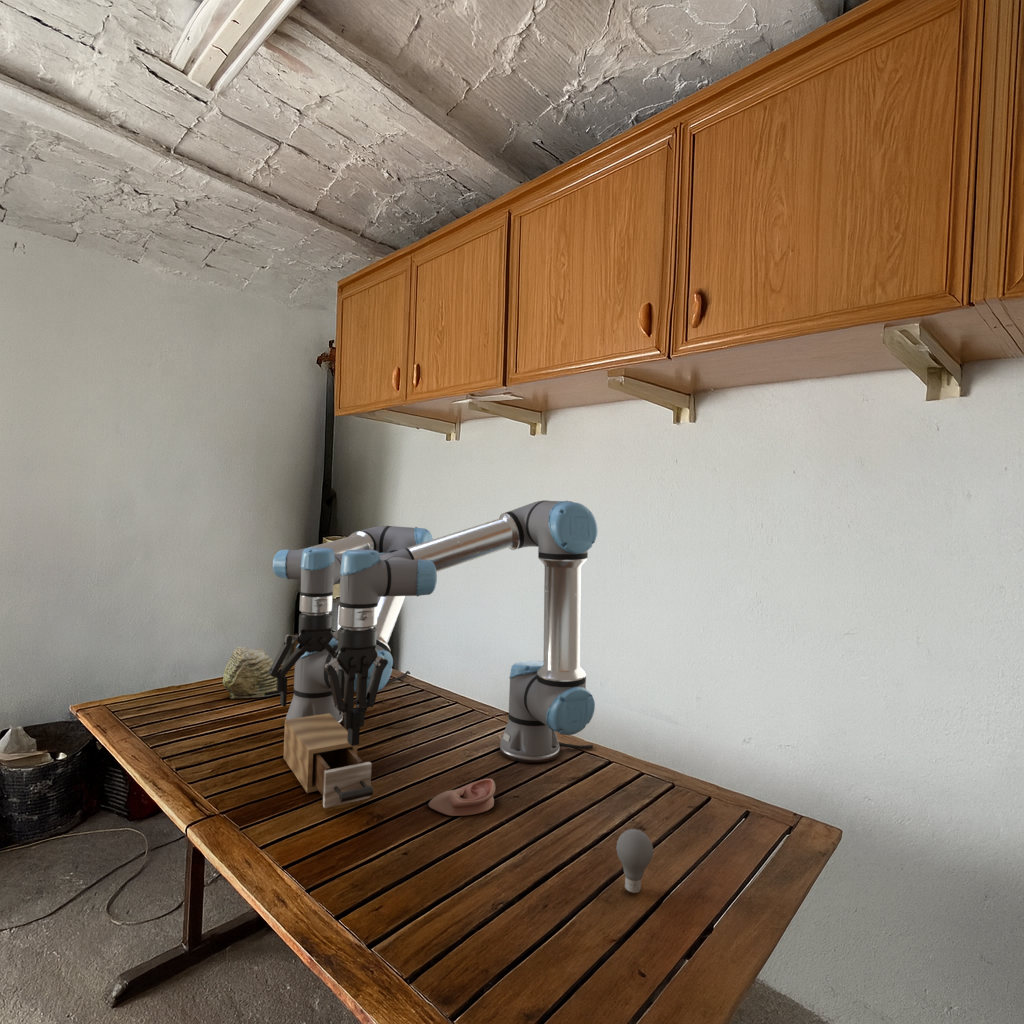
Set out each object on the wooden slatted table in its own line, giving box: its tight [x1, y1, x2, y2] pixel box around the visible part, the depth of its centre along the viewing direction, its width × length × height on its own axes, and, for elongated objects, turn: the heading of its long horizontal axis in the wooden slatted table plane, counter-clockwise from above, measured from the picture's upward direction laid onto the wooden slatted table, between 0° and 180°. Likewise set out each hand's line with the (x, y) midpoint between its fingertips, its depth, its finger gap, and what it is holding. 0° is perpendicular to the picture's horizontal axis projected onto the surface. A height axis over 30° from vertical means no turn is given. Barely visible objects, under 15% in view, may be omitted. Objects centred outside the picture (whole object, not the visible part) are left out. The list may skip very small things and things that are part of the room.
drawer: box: [312, 747, 374, 809], centre depth 135 cm, size 24×10×7 cm, turn 33°
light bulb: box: [615, 828, 654, 894], centre depth 106 cm, size 6×6×10 cm
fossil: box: [222, 646, 281, 699], centre depth 198 cm, size 9×18×15 cm, turn 132°
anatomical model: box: [427, 778, 496, 817], centre depth 133 cm, size 13×4×12 cm
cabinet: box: [283, 713, 358, 794], centre depth 147 cm, size 20×11×9 cm, turn 33°
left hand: (312, 700), depth 152 cm, fingers open, 13 cm apart
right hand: (353, 742), depth 128 cm, fingers closed
